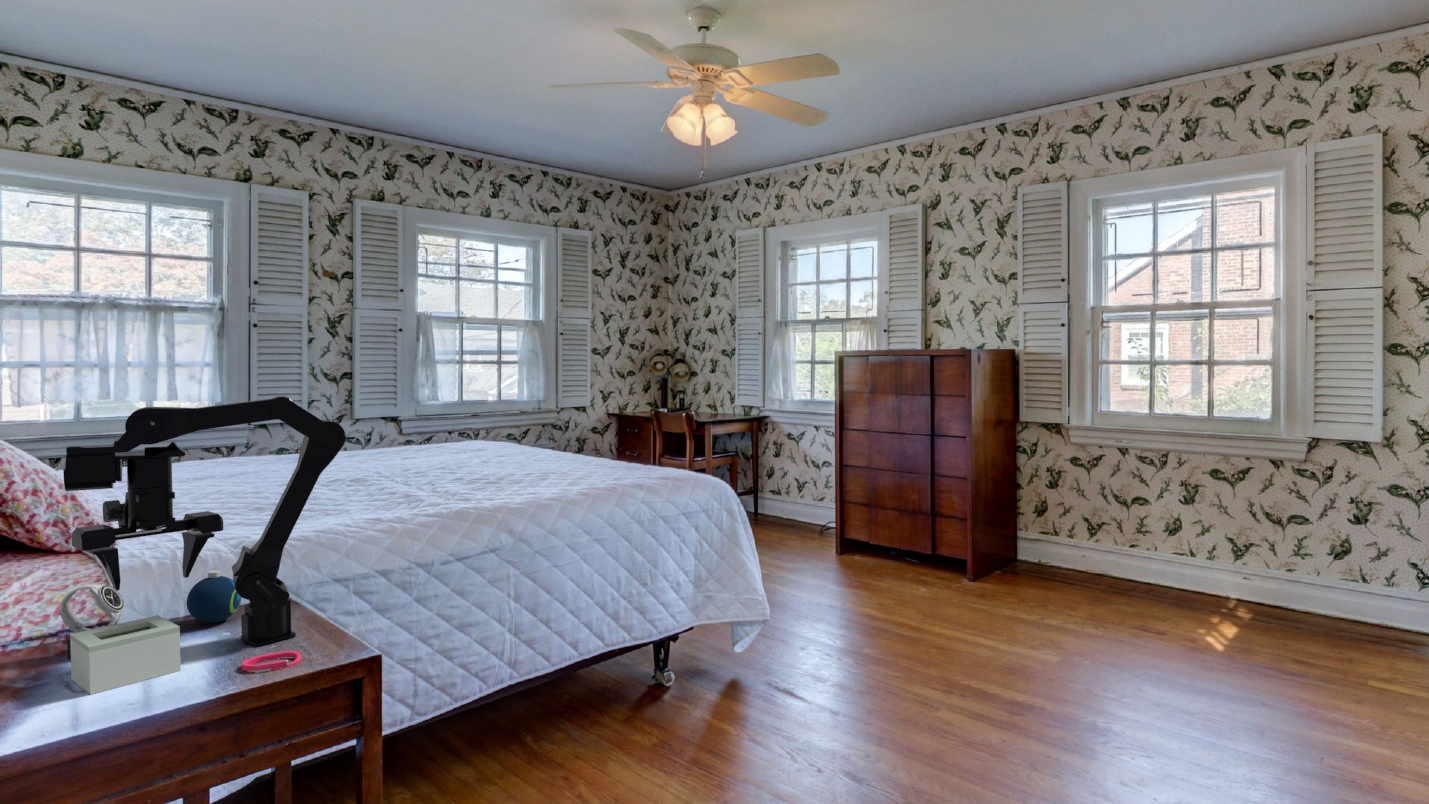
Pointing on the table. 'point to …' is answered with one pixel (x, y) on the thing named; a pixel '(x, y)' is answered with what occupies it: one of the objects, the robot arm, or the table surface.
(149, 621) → the coin box
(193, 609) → the christmas ornament
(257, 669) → the fitness band
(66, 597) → the watch
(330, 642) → the table surface
